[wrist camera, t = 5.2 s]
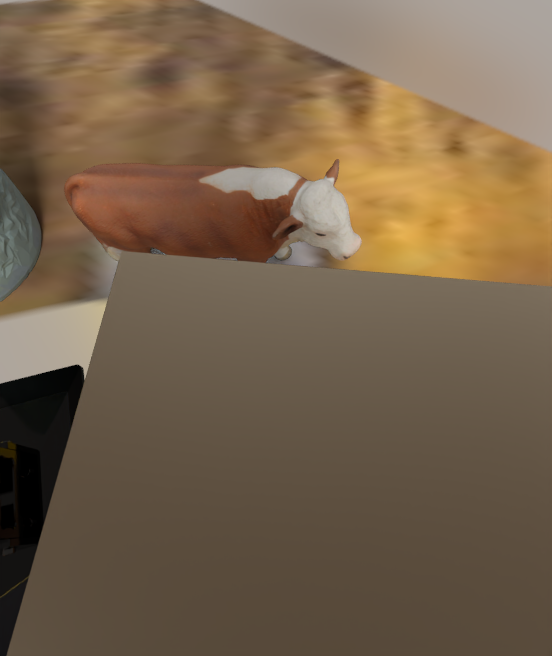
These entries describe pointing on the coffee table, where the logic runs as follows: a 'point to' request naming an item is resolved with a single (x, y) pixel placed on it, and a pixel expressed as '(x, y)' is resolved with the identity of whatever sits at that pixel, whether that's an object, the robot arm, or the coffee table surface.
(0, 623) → the robot arm
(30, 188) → the coffee table surface
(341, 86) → the coffee table surface
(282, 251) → the bull figurine
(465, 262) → the coffee table surface
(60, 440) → the black recessed tray
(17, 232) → the grey green pot
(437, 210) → the coffee table surface
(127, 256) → the birch block
